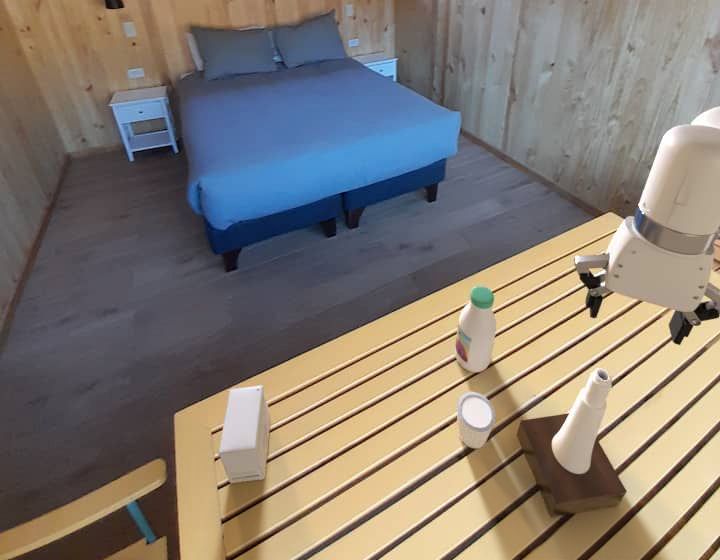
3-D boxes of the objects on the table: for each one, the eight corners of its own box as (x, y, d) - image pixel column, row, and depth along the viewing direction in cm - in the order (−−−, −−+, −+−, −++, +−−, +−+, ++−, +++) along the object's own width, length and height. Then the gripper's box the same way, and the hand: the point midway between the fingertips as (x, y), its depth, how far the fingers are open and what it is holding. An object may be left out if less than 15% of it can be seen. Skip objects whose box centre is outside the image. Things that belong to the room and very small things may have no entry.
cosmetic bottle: (594, 479, 66) (633, 401, 56) (554, 468, 67) (585, 390, 57) (585, 438, 71) (620, 360, 61) (549, 429, 72) (576, 351, 62)
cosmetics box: (238, 419, 79) (229, 387, 74) (271, 415, 80) (264, 384, 75) (227, 484, 70) (216, 453, 65) (264, 480, 70) (256, 448, 66)
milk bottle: (489, 345, 92) (501, 283, 83) (489, 377, 86) (503, 314, 76) (455, 337, 94) (463, 275, 85) (453, 368, 87) (461, 305, 78)
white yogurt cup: (446, 431, 77) (449, 410, 73) (466, 404, 81) (469, 383, 78) (478, 461, 72) (483, 441, 69) (497, 431, 77) (502, 410, 73)
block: (575, 426, 77) (581, 411, 75) (618, 505, 66) (627, 491, 64) (516, 435, 76) (520, 420, 74) (550, 517, 65) (556, 503, 63)
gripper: (753, 225, 47) (701, 322, 55) (588, 191, 54) (563, 282, 62) (780, 270, 41) (718, 372, 49) (591, 226, 48) (562, 322, 56)
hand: (631, 322), depth 55 cm, fingers open, 9 cm apart
